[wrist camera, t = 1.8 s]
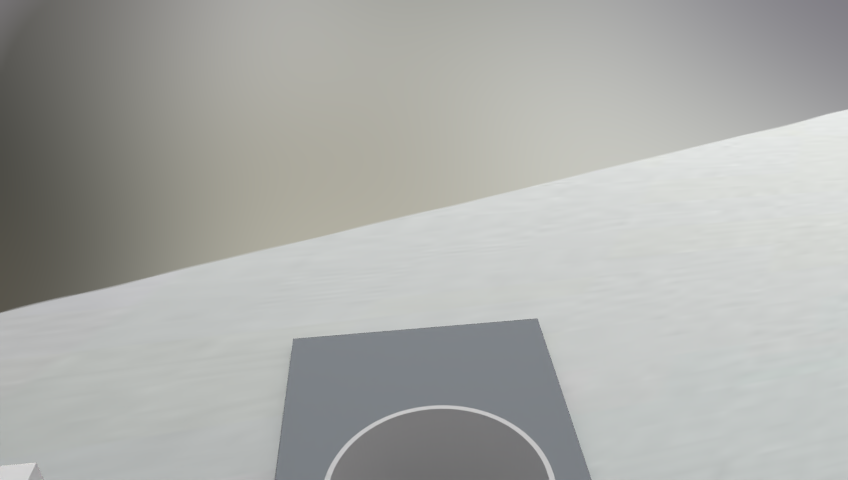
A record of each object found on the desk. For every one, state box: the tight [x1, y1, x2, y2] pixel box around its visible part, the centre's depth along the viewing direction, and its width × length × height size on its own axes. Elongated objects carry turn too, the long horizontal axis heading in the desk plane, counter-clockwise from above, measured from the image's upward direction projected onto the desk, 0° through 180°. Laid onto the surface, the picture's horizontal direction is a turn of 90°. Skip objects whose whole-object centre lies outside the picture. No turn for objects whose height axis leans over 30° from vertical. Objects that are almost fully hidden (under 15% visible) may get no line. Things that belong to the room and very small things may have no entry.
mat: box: [275, 319, 591, 480], centre depth 43 cm, size 16×15×1 cm
